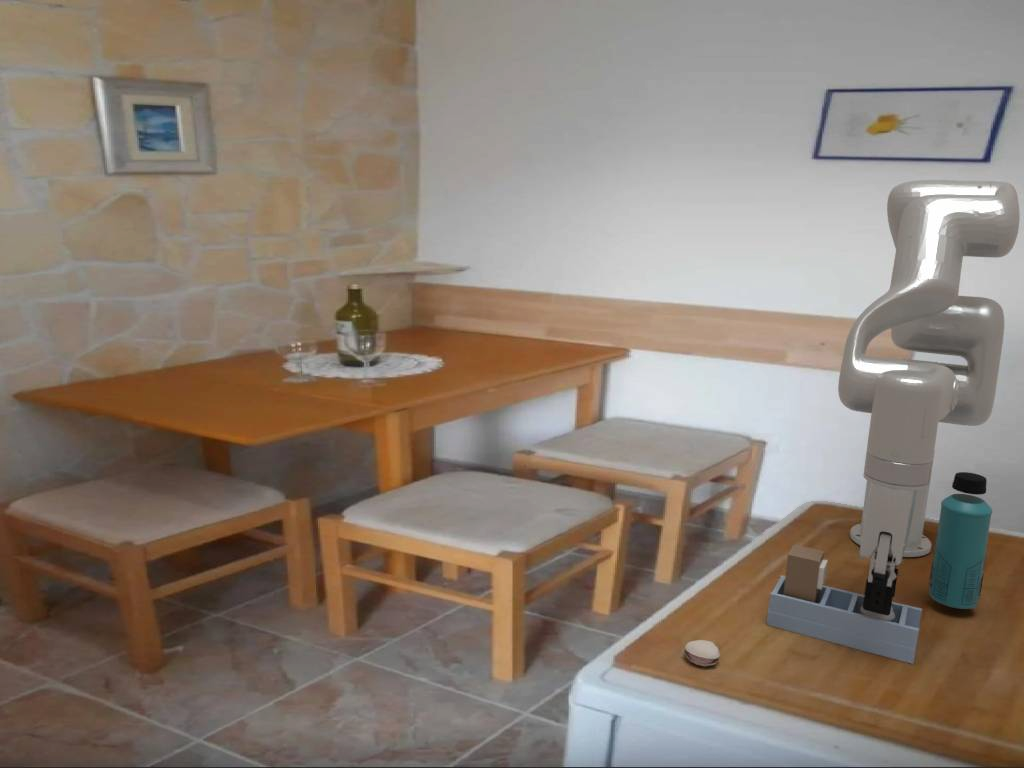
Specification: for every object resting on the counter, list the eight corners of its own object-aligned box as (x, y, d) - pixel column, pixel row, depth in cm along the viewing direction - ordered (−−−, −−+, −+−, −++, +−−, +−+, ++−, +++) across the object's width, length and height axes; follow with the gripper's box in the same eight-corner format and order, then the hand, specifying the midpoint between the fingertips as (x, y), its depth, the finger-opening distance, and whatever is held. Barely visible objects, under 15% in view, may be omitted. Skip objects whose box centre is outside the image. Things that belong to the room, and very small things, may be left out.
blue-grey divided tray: (777, 604, 117) (785, 538, 115) (917, 639, 108) (928, 569, 106) (766, 624, 111) (773, 555, 109) (913, 664, 102) (924, 590, 100)
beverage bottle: (984, 622, 113) (1007, 484, 109) (932, 616, 115) (953, 480, 110) (968, 600, 120) (989, 469, 115) (919, 595, 121) (938, 465, 117)
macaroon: (678, 662, 101) (680, 644, 101) (694, 645, 105) (696, 627, 105) (712, 674, 99) (713, 655, 98) (727, 656, 103) (728, 638, 102)
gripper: (872, 448, 112) (856, 571, 116) (855, 482, 97) (837, 622, 101) (934, 457, 108) (915, 585, 112) (926, 495, 94) (904, 640, 97)
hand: (878, 601), depth 106 cm, fingers open, 4 cm apart
